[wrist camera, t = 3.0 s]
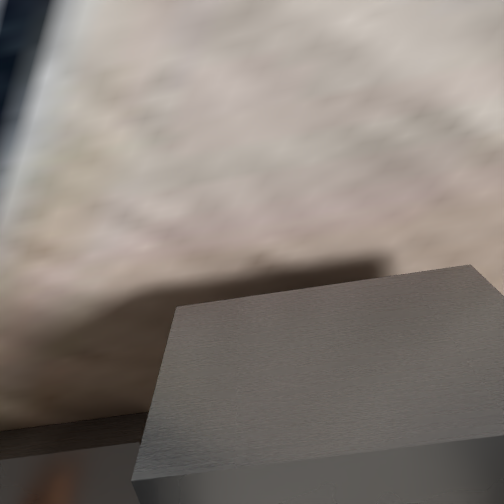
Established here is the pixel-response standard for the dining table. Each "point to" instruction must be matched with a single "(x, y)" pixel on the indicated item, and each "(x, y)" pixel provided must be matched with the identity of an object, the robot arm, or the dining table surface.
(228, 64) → the dining table surface
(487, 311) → the grey hollow block
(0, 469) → the grey socket block
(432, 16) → the dining table surface
